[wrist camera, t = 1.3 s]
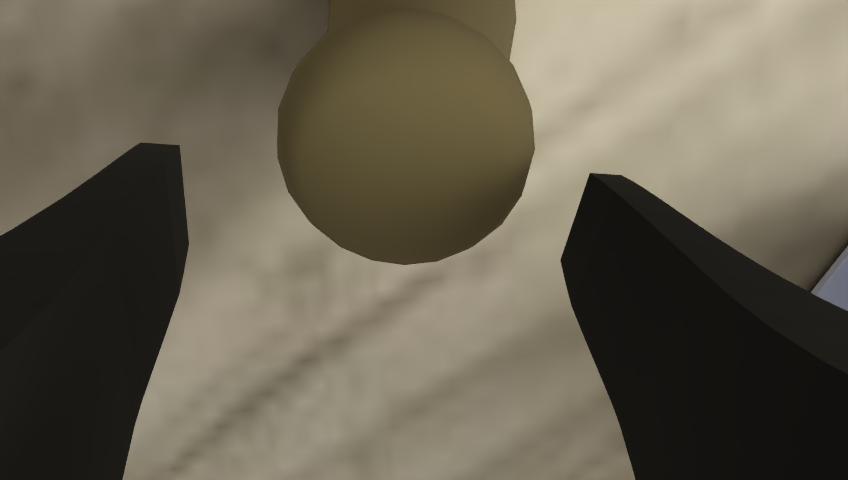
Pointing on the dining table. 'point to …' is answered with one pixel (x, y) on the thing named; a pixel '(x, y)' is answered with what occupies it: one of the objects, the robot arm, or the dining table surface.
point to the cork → (408, 127)
